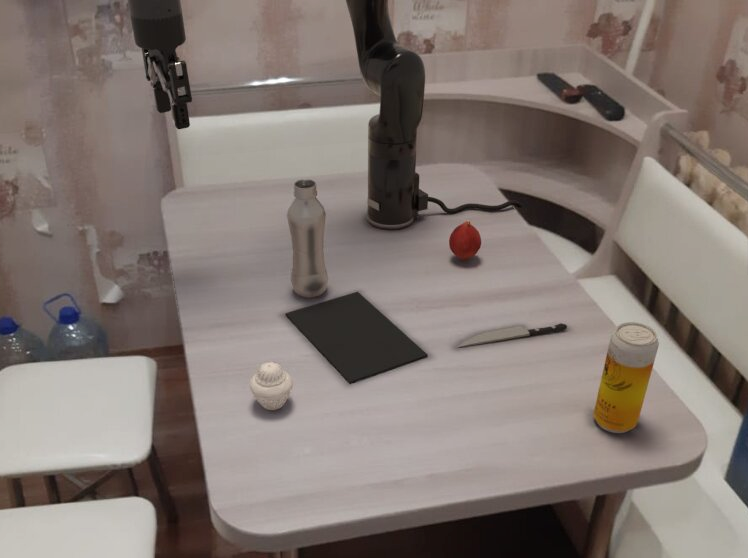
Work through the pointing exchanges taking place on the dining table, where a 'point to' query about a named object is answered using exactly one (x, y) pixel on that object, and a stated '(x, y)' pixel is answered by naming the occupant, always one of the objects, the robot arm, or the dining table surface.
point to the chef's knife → (509, 334)
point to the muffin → (271, 386)
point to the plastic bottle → (307, 240)
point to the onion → (465, 241)
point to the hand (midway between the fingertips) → (173, 119)
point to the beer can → (625, 376)
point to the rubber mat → (355, 336)
